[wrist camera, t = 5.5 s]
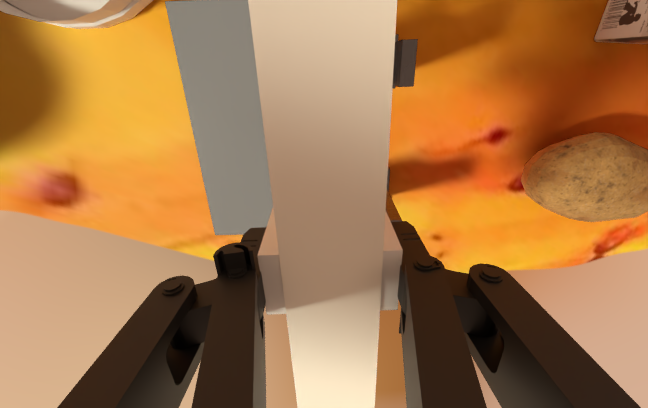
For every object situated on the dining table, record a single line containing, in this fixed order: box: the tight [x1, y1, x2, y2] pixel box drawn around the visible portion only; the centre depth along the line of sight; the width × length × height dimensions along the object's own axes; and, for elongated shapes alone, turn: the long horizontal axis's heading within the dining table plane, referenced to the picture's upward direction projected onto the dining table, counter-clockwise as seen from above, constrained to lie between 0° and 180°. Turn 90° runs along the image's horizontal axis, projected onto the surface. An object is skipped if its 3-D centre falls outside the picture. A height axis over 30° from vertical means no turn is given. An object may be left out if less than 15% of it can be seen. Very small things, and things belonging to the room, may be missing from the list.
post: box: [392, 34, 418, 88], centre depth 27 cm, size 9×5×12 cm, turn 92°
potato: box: [521, 132, 648, 222], centre depth 33 cm, size 10×14×8 cm
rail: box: [248, 0, 397, 408], centre depth 12 cm, size 4×20×4 cm, turn 2°
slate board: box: [165, 0, 273, 235], centre depth 35 cm, size 12×26×1 cm, turn 2°
